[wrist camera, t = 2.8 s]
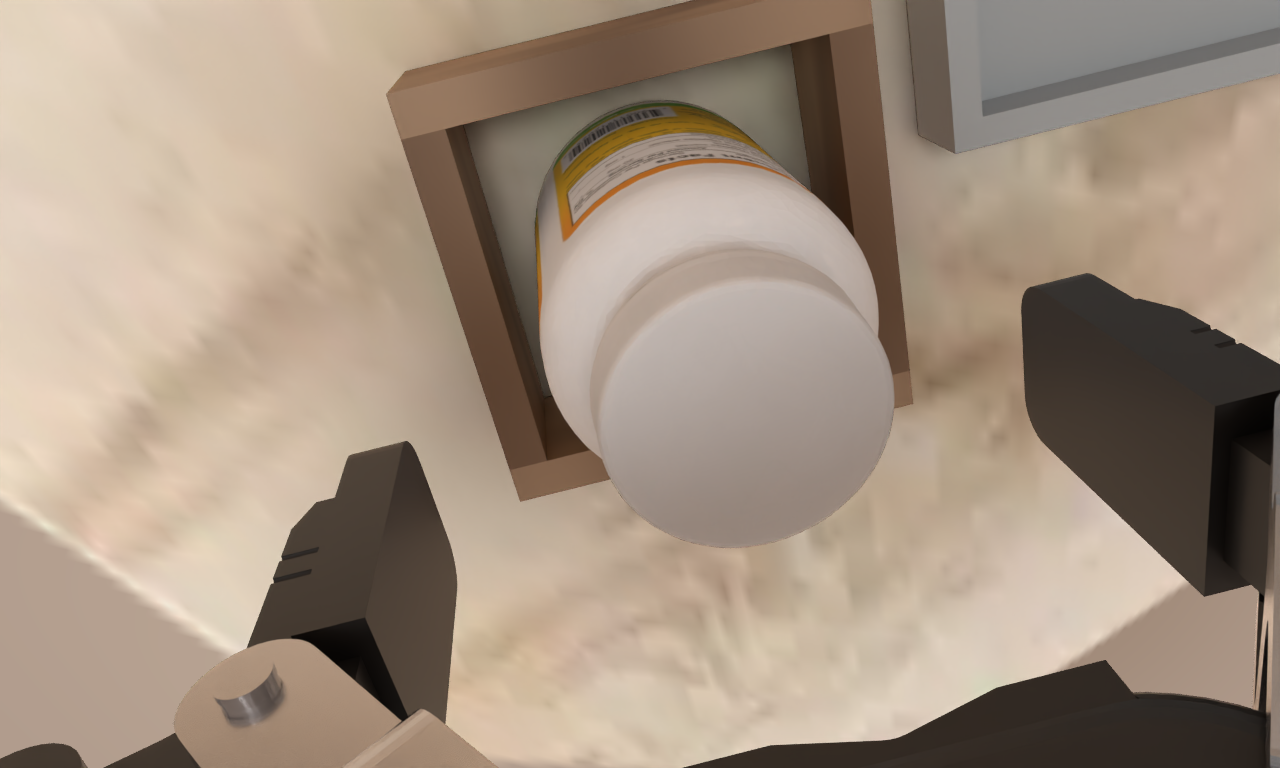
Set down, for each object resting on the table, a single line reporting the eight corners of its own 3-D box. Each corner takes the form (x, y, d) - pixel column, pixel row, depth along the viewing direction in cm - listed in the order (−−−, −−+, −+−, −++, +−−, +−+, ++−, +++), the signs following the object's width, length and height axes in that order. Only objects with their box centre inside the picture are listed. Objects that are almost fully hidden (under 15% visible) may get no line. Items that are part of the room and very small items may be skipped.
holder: (820, -32, 19) (867, -25, 17) (867, 348, 23) (913, 403, 20) (405, 71, 19) (386, 94, 17) (520, 435, 23) (520, 501, 20)
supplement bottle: (712, 366, 23) (829, 635, 14) (498, 286, 21) (481, 531, 13) (819, 156, 21) (1029, 316, 12) (591, 53, 20) (647, 152, 11)
